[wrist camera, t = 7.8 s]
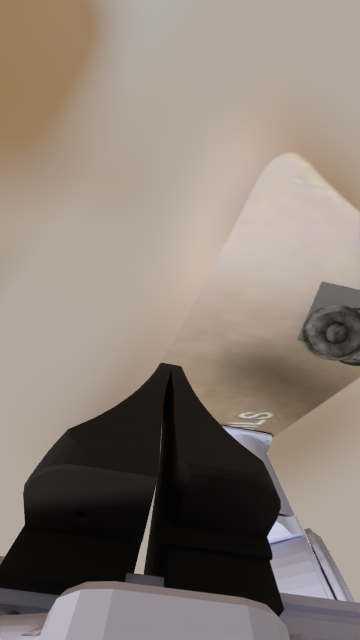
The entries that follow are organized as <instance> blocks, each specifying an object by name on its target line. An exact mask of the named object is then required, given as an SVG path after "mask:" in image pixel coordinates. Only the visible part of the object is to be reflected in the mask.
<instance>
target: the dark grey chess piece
mask: <svg viewBox="0 0 360 640" xmlns="http://www.w3.org/2000/svg"><path fill="white" fill-rule="evenodd" d="M303 338H304V341H305V344H306V345H307V347H308V348H309V350H310V351H312V352H313V353H314V354H315V355H317V356H319V357H321V358H324V359H328V360H338V361H340V362H342V363H344V364H348V365H352V366H360V308H351V307H348V306H344V305H329V306H324V307H322V308H320V309H318V310H316V311H315V312H314V313H312V314H311V315H310V316H309V318H308V319H307V320H306V323H305V325H304V329H303Z"/></svg>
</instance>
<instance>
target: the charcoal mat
mask: <svg viewBox="0 0 360 640" xmlns="http://www.w3.org/2000/svg"><path fill="white" fill-rule="evenodd" d="M329 305H344V306H348V307H351V308H360V290H357V289H352V288H348V287H344V286H339V285H335V284H330V283H326V282H322V283H321V286H320V288H319V290H318V293H317V295H316V297H315V300H314V302H313V304H312V307H311V309H310V311H309V314H308V316H307V318H306V320H307V319H308V318H309V316H310V315H311V314H312V313H314V312H315V311H316V310H318V309H320V308H322V307H324V306H329ZM305 323H306V321H305ZM305 323H304V325H305ZM304 325H303V328H302V330H301V332H300V335H299V337H298V340H300V341H304V338H303V329H304Z"/></svg>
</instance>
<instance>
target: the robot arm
mask: <svg viewBox="0 0 360 640" xmlns="http://www.w3.org/2000/svg"><path fill="white" fill-rule="evenodd" d="M162 415H163V416H162ZM161 427H162V437H161ZM272 439H273V437H272V435H271V434H267V433H261V432H256V431H250V430H244V429H239V428H233V427H227V426H221V425H220V424H219V423H218V422H217V421H216V420H215V419H214V418H213V417H212V415H211V414H210V413H209V412H208V411H207V409H206V408H205V407H204V406H203V404H202V403H201V402H200V400H199V399H198V397H197V396H196V394H195V393H194V391H193V389H192V387H191V386H190V384H189V382H188V380H187V378H186V376H185V374H184V371H183V369H182V367H181V366H176V365H171V364H166V363H160V364H159V366H158V368H157V369H156V371H155V372H154V373H153V375H152V376H151V377H150V378H149V379H148V380H147V381H146V382H145V383H144V384H143V385H142V386H141V387H140V388H139V389H138V390H137V391H136V392H134V393H133V394H132V395H131V396H129V397H128V398H127V399H125V400H124V401H122V402H121V403H120V404H118V405H116V406H115V407H113V408H112V409H110V410H108V411H106V412H105V413H103V414H101V415H99V416H97V417H96V418H93V419H91V420H89V421H86V422H84V423H82V424H80V425H77V426H75V427H72V428H70V429H68V430H67V431H66V432H65V433H64V434H63V435H62V436H61V438H60V439H59V440H58V441H57V442H56V443H55V444H54V445H53V447H52V448H51V449H50V450H49V451H48V453H47V454H46V455H45V456H44V458H43V459H42V461H41V462H40V463H39V465H38V466H37V467H36V469H35V470H34V471H33V473H32V474H31V476H30V477H29V479H28V480H27V482H26V483H25V485H24V492H23V498H24V514H25V525H24V527H23V529H22V530H21V532H20V534H19V535H18V537H17V539H16V540H15V542H14V543H13V545H12V547H11V548H10V550H9V551H8V553H7V555H6V556H5V557H4V556H0V640H360V603H357V602H355V601H354V599H353V597H352V595H351V593H350V591H349V589H348V587H347V585H346V583H345V581H344V579H343V577H342V575H341V573H340V572H339V570H338V568H337V566H336V564H335V562H334V560H333V559H332V557H331V555H330V553H329V551H328V549H327V547H326V546H325V544H324V542H323V541H322V539H321V537H320V536H318V535H317V534H316V533H313V531H312V530H311V529H305V532H306V535H307V537H308V539H309V541H310V544H311V547H312V549H313V552H314V554H315V556H316V558H317V560H318V562H319V564H318V562H317V560H316V558H315V556H314V554H313V552H312V550H311V547H310V545H309V543H308V541H307V539H306V537H305V535H304V533H303V530H302V528H301V526H300V524H299V522H298V520H297V517H296V516H295V515H294V513H293V511H292V509H291V507H290V505H289V502H288V500H287V498H286V496H285V494H284V491H283V489H282V487H281V485H280V483H279V481H278V479H277V476H276V474H275V472H274V470H273V468H272V465H271V464H270V461H269V459H268V457H267V455H266V452H267V450H268V448H269V445H270V444H271V441H272ZM160 442H161V452H160ZM159 460H160V461H159ZM155 487H156V491H155V499H154V506H153V513H152V520H151V527H150V534H149V541H148V549H147V555H146V562H145V569H144V575H141V574H134V570H135V566H136V562H137V558H138V553H139V549H140V545H141V542H142V540H143V536H144V532H145V528H146V524H147V520H148V515H149V511H150V507H151V503H152V499H153V495H154V490H155ZM319 565H320V567H321V568H320V567H319Z"/></svg>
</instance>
